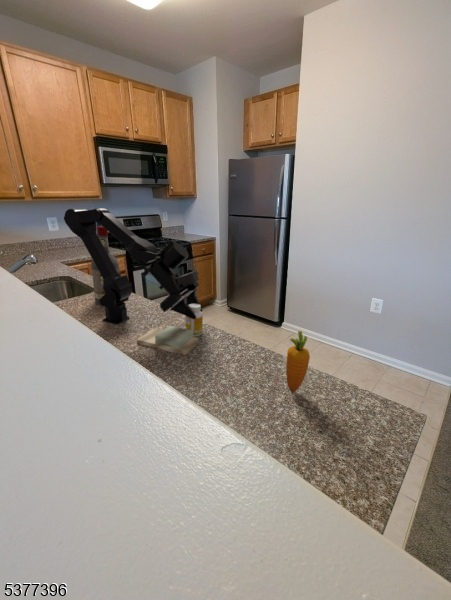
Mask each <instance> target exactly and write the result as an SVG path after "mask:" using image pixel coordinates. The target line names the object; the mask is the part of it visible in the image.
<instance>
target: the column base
mask: <svg viewBox="0 0 451 600" xmlns="http://www.w3.org/2000/svg"><path fill="white" fill-rule="evenodd" d="M198 343H200V337H197V336H195V337H193V330H189V329H186V328H184V327H179V326H174V325H168V326H167V327H165V328H164V329H160V328H157V327H155V328H153V329H151V330H149V331H148V332H146V333H144V334H143V335H141V336H140V337H139V338H137V339H136V344H138V345H141V346H147V347H150V348H154V349H159V350H162V351H166V352H169V353H170V352H172V353H175V354H178V355H179V354H180V355H183V356H186V355H187V354H188V353H189V352H190V351H191V350H193V348H194V347H196V345H198Z"/></svg>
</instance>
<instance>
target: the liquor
mask: <svg viewBox="0 0 451 600" xmlns="http://www.w3.org/2000/svg"><path fill="white" fill-rule="evenodd" d="M96 233H97V235H98V237H99V239H100V241H101V243H102V245H103V247H104V248H105V250H106V252H107V254H108V256H109V258H110V260H111V261H112V263H113V265H114V267H115V269H116V271H117V272H118V273H119V274H120V264H119V260H118V259H117V258H116V256H114V254H112V252H111V251H110V248H109V240H108V239H109V238H108V235H109V232H108V231H107V230H106V229H105V228H104V227H103V226H102V225H100V226H96ZM90 266H91V275H92V282H93V284H92V285H93V294H94V302H95V303H94V304H96V305H97V306H100V307H102V306H101V304H100V302H99V300H100V299H101V298H102V297H103V296H104V295H105V292H104V289H103V277H102V276H101V274H100V272H99V270H98V268H97V266H96V265H95V263H94V261H93V260H92V262H91V265H90Z"/></svg>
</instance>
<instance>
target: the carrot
mask: <svg viewBox="0 0 451 600" xmlns="http://www.w3.org/2000/svg"><path fill="white" fill-rule="evenodd" d="M297 336H298V338H292V337H291V338H290V339H289V341H291V342H292V343H293V344H294V345H293V346H291V347H288V349H287V353H286V354H287V355H286V365H285V369H286V370H285V371H286V372H285V374H286V382H287V386H288V390H289V391H290V392H291V393H296V391H297V390H298V389H299V388H300V387H301V385H302V384H303V382H304V380H305V377H306V374H307V371H308V367H309V364H310V363H309V362H310V358H311V356H310V352H309V350H308V349H307V348H305V345H306V343H307V340H308V336H307V335H304V337H303V332H302V331H301V330H299V331H297Z"/></svg>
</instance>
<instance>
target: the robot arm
mask: <svg viewBox="0 0 451 600" xmlns="http://www.w3.org/2000/svg"><path fill="white" fill-rule="evenodd" d="M63 221H64V222H65V225H66V226H67V227H68V228H69V230H70V231H71V232H72V233H74V235H75V236H77V237H78V238H80V239H81V241H82V243H83V245H84V246H85V248H86V250H87V252H88V254H89V256H90V257H91V259H92V262H93V261H94V263H95V265H96V266H97V268H98V270H99V272H100V274H101V276H102V277H103V289H104V292H105V295H104V296H103V297H102V298H101V299H100V300H99V302H100V304H101V306H100V307H103V308H104V311H105V318H103V319H102V321H103V322H105V323H111V324H113V325H114V324H115V325H119V324H121V323H122V322H125V321H127V320H128V319H130V316H129V315H128V309H127V306H126V303H125V302H127V301H129V298H130V296H131V295H132V292H133V287H132V286H133V285H132V283H131V282H130V281H129V278H128V276H127V274H123V275H121V274H120V272H119V273H118V272H117V271H116V269H115V267H114V265H113V263H112V261H111V260H110V258H109V256H108V254H107V252H106V250H105V248H104V247H103V245H102V243H101V241H100V239H99V237H98V233H97V223H98V224H100V226H103V227H104V228H105V229H106V230H107V231H108V233H109V234H111V235H112V236H113V237H114V238H115V239H117V240H118V241H119V242H120V243H121V244H122V245H123V246H124V247H125V248H126V249H127V252H128V254H129V256H130V257H131V258H132V259H133V260H134V262H136V263H137V264H139V265H145V264H146V265H147V264H148V263H150V265H147V266H144V267H143V270H144V271H143V276H145V277H146V276H149V275H151V276H153V278H154V279H155V280H156V281H157V283H159V285H160V286H159V287H158V288H159V289H160V290H161V291H162V290H164V291H165V292H166V293H167V294H168V296H167V297H166V298H164V299H163V300H162V301H161V302H160V303H159V308H160V309H161V310H162V311H163V312H164V313H165V312H167V311H168V310H169V311H170V312H172V311H173V312H175V313H178V314H180V315H183V316H185V317H186V316H187V317H189V318H192V319H195V318H196V316H195V314H194V312H193V311H192V310H191V308H190V307H189V304H199V305H201V304H200V302H199V299H198V298H197V291H198V287H199V286H200V283H199V282H198V281H200V278H199V272H198V271H197V270H195V269H194V268H192V267H191V268H189V269H187V270H186V273H185V274H183V275H181V274H180V273H178V272H176V273H175V272H174V271H173V270H172V269H177V268H178V267H179V266H180V265H181V264H182V263H184V261H185V260H186V259H188V258H189V255H190V254H189V252H188V250H187V249H186V248H185V247H184V246H183V245H182V244H180V243H178V242H176V241H175V240H169V242H168V243H167V245H166V246H165V247H164V248H158V247H157V246H156V245H155V244H154V243H152V242H150V241H149V240H147V239H144V238H142V237H139V236H138V235H136V234H135V233H134V232H133V231H132V230H131V229H129V228H128V226H126V225H124V223H122V222H121V221H120V220H119V219H117V218H116V216H114V215H113V214H112V213H111V212H110V210H108V209H106V208H101V207H100V208H99V207H98V208H94V209H87V208H69V209H67V210H66V211H65V213H64V216H63ZM157 259H159V260H157ZM200 311H201V312H202V313H203V308H201V310H200Z"/></svg>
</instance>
